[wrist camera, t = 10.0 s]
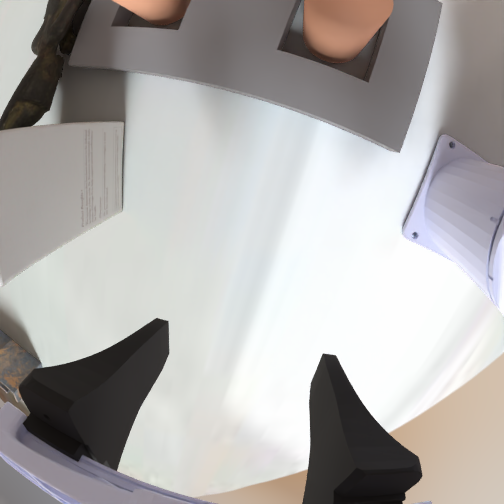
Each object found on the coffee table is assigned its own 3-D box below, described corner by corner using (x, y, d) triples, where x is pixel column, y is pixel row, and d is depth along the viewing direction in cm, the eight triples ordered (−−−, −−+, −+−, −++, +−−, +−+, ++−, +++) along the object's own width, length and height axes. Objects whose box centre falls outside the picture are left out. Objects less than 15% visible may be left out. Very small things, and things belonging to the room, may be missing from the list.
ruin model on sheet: (-1, 336, 34) (-35, 368, 25) (-4, 323, 33) (-40, 355, 24) (45, 372, 34) (11, 412, 25) (42, 361, 33) (6, 402, 24)
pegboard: (431, 12, 12) (442, 3, 11) (389, 150, 17) (399, 152, 15) (134, -50, 13) (123, -59, 11) (83, 67, 17) (67, 64, 16)
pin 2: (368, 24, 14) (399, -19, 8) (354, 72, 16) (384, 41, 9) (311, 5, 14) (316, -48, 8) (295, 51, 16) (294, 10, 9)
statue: (96, -30, 15) (30, 149, 19) (63, -51, 10) (-19, 146, 14) (143, -48, 14) (68, 150, 18) (111, -77, 9) (10, 144, 13)
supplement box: (59, 124, 20) (-66, 145, 8) (127, 120, 19) (-18, 131, 7) (59, 206, 22) (-52, 261, 11) (124, 215, 22) (2, 291, 10)
